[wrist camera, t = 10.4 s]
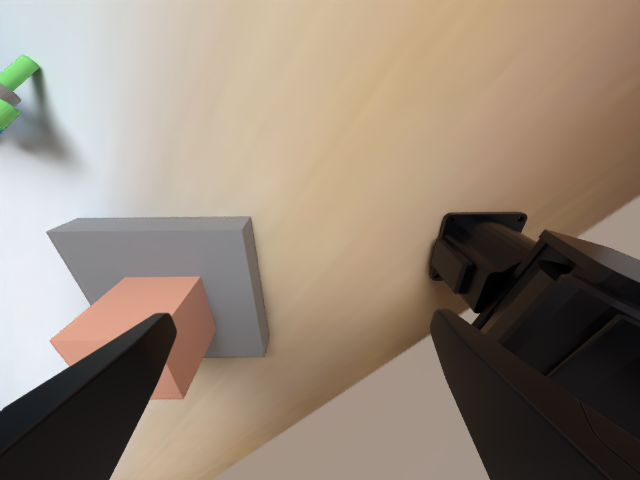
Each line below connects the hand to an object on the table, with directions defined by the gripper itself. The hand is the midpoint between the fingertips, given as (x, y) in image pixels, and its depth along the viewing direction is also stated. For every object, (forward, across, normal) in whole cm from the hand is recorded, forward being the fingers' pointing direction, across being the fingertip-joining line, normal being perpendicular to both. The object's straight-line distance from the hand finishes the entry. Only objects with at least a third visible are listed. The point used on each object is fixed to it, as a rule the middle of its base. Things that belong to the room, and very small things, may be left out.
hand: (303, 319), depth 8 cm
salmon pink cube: (+10, +12, +8) cm, 17 cm away
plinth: (+12, +12, +8) cm, 19 cm away
